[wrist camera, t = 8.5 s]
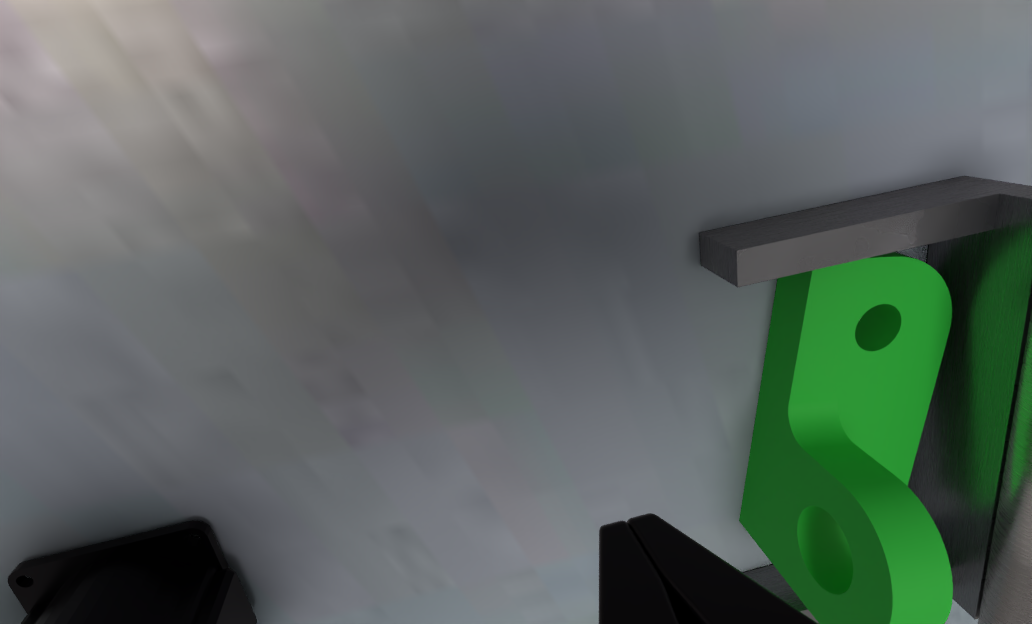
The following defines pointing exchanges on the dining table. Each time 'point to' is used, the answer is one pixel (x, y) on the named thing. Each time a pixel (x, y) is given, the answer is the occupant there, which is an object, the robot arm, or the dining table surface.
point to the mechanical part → (851, 441)
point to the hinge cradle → (964, 367)
